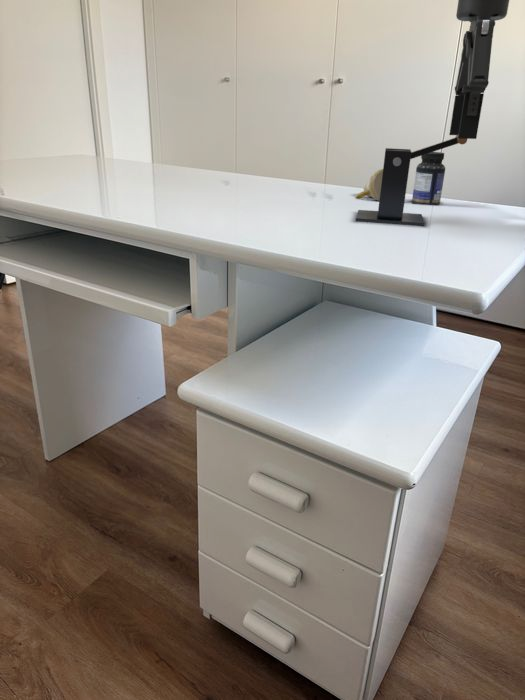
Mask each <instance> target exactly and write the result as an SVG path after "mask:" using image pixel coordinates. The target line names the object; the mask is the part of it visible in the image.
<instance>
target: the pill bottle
mask: <svg viewBox="0 0 525 700" xmlns="http://www.w3.org/2000/svg"><path fill="white" fill-rule="evenodd" d="M420 159H421V162H419V163H418V164H417V165H416V168H415V169H416V170H415V176H414V184H413V190H412V198H411V204H412V205H421V206H422V205H423V206H437V207H438V206H440V204H441V200H442V199H441V198H442V192H443V186H444V181H445V180H444V179H445V174H446V166H445V165H444V164H443V160H444V159H445V152H441V151H434V152H431V153H428V154H425V155H422V156H420Z"/></svg>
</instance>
